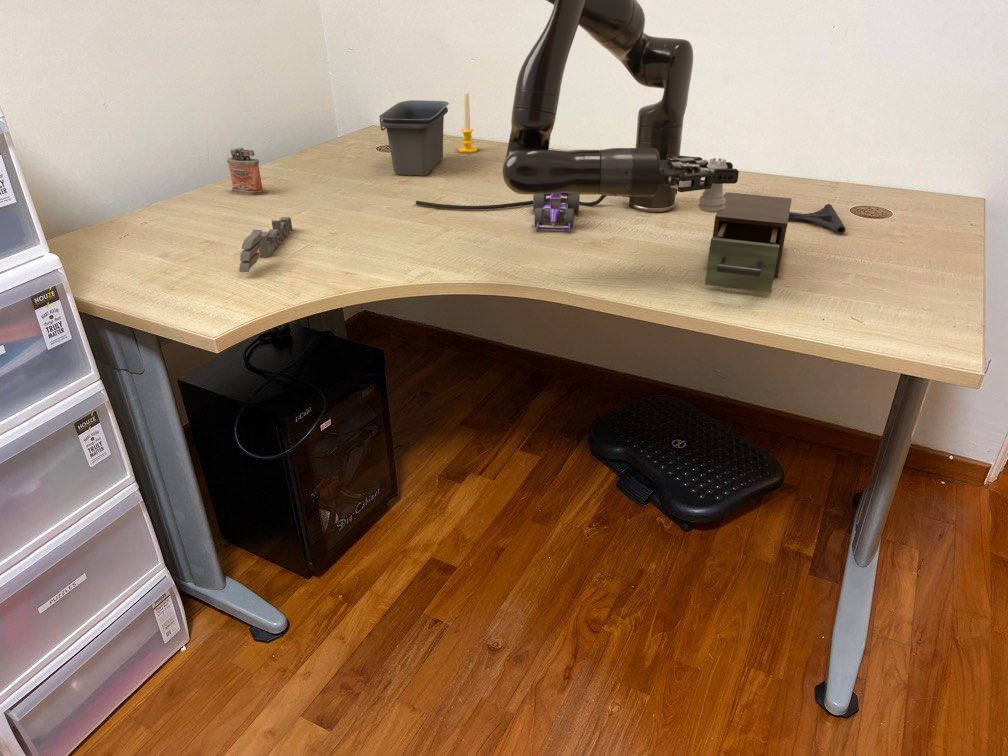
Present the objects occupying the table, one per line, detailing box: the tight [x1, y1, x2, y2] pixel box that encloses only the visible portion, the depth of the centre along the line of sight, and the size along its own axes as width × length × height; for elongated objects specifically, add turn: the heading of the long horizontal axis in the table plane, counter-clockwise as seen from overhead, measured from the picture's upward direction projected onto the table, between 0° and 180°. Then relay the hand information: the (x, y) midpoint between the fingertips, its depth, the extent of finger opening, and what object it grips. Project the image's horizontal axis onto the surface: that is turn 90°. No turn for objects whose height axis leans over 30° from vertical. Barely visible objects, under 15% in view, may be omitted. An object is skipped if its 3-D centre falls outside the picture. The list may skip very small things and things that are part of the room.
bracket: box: [788, 203, 846, 235], centre depth 154 cm, size 14×15×3 cm
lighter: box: [226, 146, 265, 196], centre depth 174 cm, size 8×3×10 cm, turn 68°
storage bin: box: [378, 99, 450, 177], centre depth 190 cm, size 21×16×14 cm
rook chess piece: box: [697, 157, 728, 214], centre depth 123 cm, size 4×4×8 cm
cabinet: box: [712, 191, 793, 279], centre depth 135 cm, size 15×12×10 cm
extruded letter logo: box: [239, 216, 294, 273], centre depth 141 cm, size 25×2×6 cm, turn 177°
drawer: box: [704, 222, 779, 294], centre depth 125 cm, size 18×10×8 cm, turn 159°
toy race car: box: [532, 193, 581, 233], centre depth 155 cm, size 10×15×6 cm, turn 174°
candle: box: [458, 91, 478, 154], centre depth 204 cm, size 5×5×16 cm
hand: (734, 172), depth 122 cm, fingers closed on rook chess piece, 3 cm apart
